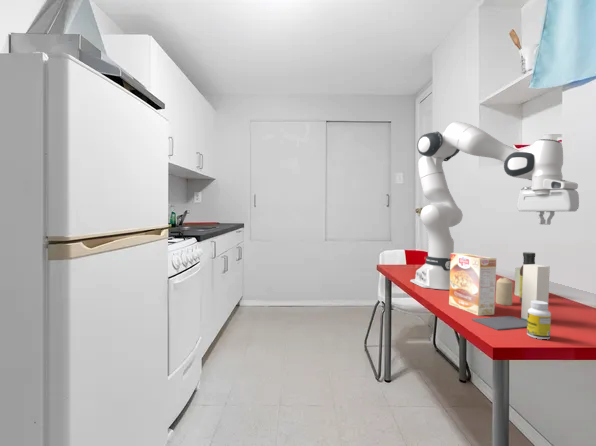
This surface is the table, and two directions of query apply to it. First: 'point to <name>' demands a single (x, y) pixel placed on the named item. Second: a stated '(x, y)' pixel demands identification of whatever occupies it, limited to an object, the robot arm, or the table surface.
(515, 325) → the mat
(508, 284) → the candle
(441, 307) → the table surface
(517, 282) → the can
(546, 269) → the block
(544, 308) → the supplement bottle
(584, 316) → the table surface
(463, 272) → the coffeecake box
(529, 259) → the sauce bottle
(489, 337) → the table surface
